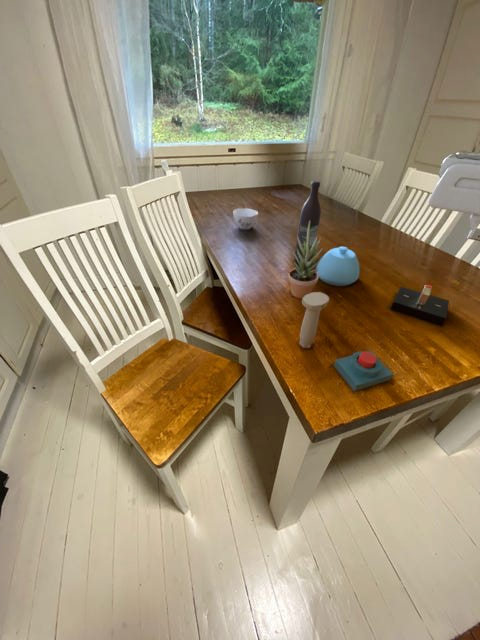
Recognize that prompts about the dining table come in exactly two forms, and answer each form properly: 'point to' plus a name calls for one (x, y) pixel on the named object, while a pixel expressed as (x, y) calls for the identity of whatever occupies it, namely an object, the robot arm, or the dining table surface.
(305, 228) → the wine bottle
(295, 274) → the potted plant
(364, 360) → the red button
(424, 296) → the turn handle
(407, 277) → the dining table surface
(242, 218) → the teacup
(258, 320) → the dining table surface
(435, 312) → the rod panel
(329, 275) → the sugar bowl
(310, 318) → the handle
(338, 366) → the button block
